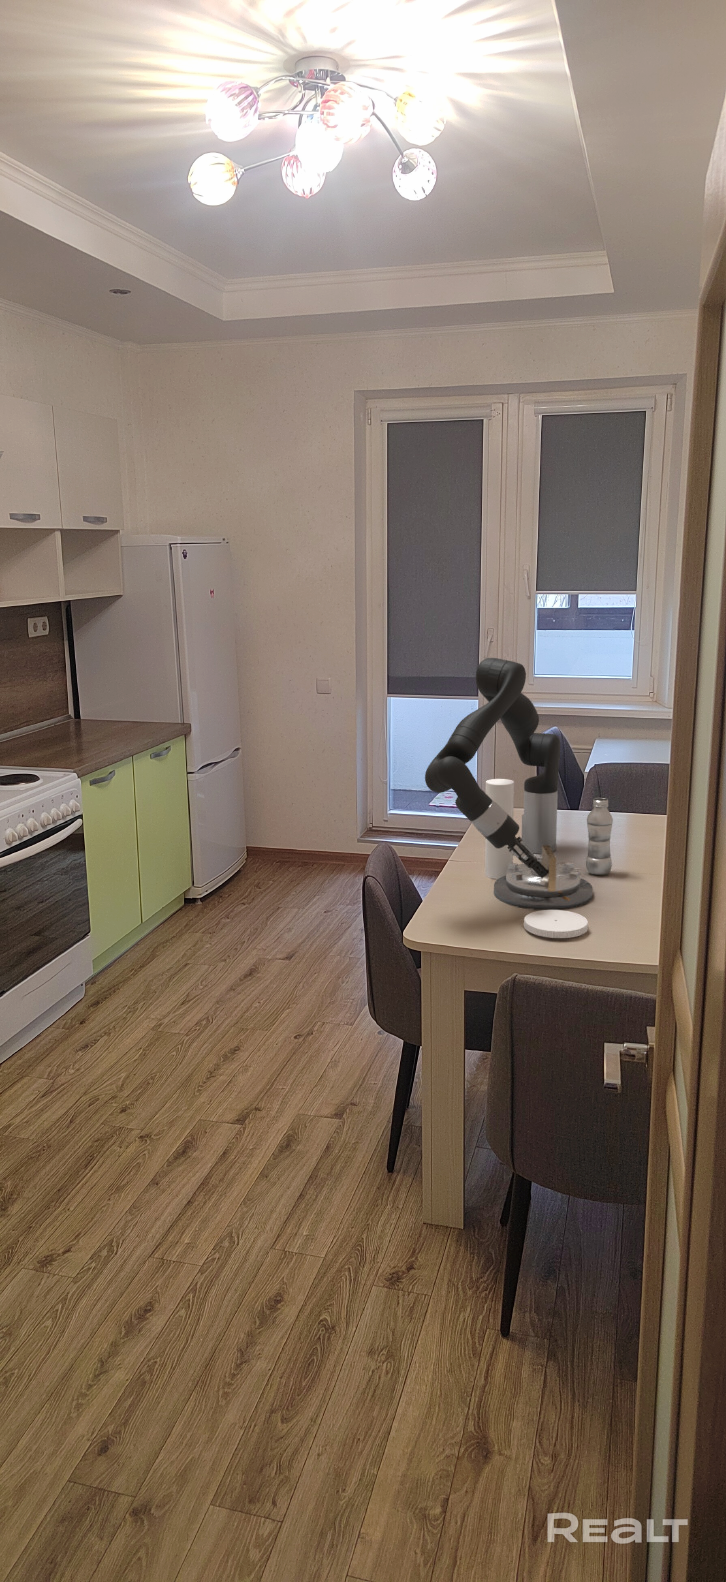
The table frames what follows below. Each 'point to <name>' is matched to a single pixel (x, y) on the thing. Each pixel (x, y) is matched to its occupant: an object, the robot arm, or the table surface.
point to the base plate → (543, 902)
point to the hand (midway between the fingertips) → (545, 874)
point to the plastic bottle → (599, 838)
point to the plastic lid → (555, 923)
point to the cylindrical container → (504, 797)
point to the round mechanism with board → (551, 885)
